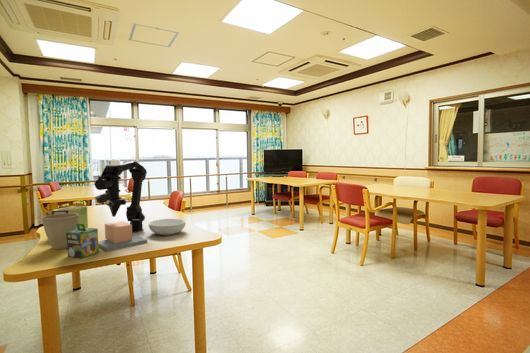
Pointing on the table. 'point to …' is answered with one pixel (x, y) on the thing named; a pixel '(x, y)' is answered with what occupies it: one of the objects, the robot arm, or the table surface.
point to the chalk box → (82, 242)
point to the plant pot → (59, 228)
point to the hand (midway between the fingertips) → (113, 216)
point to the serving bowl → (166, 226)
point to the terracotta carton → (118, 232)
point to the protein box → (78, 210)
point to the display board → (121, 243)
